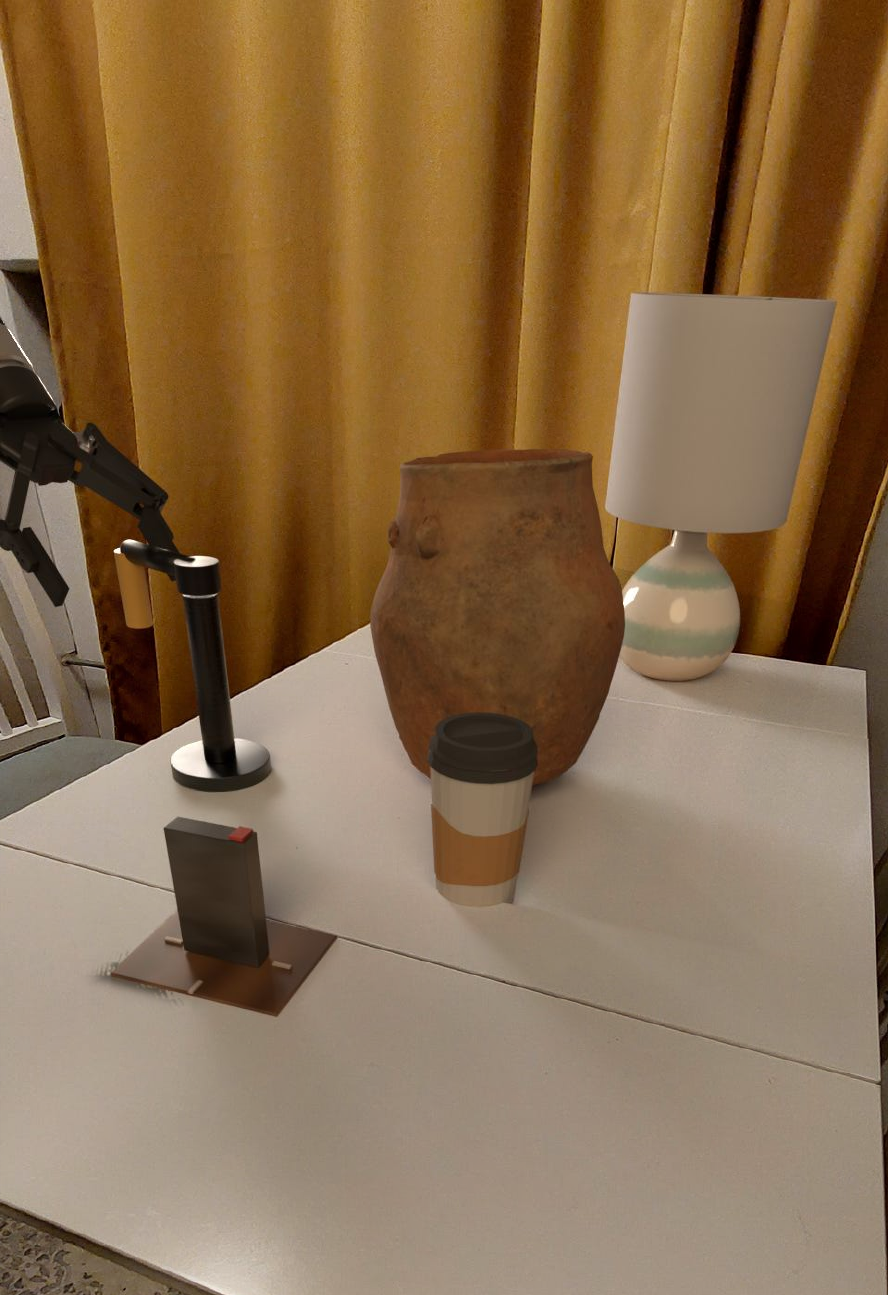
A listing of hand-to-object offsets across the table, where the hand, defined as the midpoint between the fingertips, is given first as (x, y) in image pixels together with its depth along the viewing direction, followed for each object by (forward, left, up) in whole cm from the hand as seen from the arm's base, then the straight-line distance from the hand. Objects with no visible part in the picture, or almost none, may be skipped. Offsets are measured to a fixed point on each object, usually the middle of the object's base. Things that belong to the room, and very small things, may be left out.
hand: (123, 585), depth 93 cm
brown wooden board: (+29, -35, -16) cm, 48 cm away
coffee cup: (+43, -19, -16) cm, 50 cm away
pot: (+37, +6, -16) cm, 41 cm away
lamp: (+50, +46, -16) cm, 70 cm away
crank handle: (+6, -2, -4) cm, 8 cm away
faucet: (+11, -4, -16) cm, 20 cm away
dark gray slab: (+29, -35, -14) cm, 47 cm away
